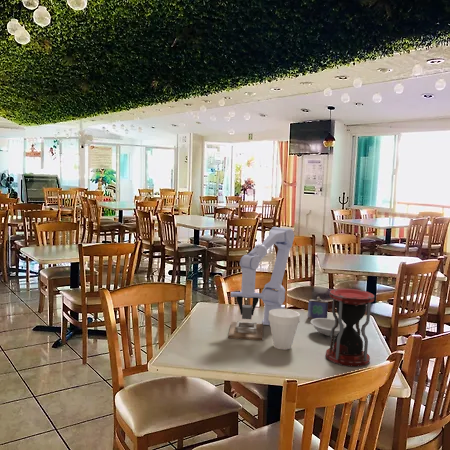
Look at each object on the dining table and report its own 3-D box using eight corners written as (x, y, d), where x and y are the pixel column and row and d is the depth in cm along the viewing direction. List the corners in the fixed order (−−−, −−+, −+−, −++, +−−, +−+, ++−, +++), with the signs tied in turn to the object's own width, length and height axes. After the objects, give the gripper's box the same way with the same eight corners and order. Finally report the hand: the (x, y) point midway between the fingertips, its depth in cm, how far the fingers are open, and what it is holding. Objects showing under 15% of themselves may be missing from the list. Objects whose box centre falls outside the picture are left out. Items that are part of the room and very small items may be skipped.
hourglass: (316, 357, 180) (321, 291, 178) (340, 347, 191) (344, 286, 189) (355, 370, 169) (360, 301, 166) (377, 359, 180) (382, 294, 178)
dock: (262, 326, 215) (263, 319, 215) (262, 340, 196) (262, 333, 196) (231, 324, 216) (231, 317, 216) (228, 338, 197) (228, 330, 197)
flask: (307, 318, 230) (308, 296, 229) (307, 316, 233) (309, 295, 232) (326, 320, 228) (328, 298, 227) (327, 319, 231) (328, 297, 230)
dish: (354, 340, 201) (355, 329, 200) (324, 343, 195) (325, 331, 195) (330, 327, 217) (331, 316, 217) (302, 330, 212) (303, 319, 211)
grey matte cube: (251, 316, 207) (252, 305, 207) (251, 319, 203) (251, 307, 203) (242, 316, 208) (242, 304, 207) (241, 318, 204) (242, 307, 203)
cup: (273, 353, 182) (275, 318, 181) (262, 342, 194) (264, 309, 193) (303, 351, 186) (305, 316, 184) (290, 340, 198) (292, 308, 196)
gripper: (230, 284, 201) (229, 315, 202) (265, 286, 199) (263, 318, 201) (231, 280, 208) (230, 311, 209) (265, 282, 206) (263, 313, 208)
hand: (246, 314), depth 205 cm, fingers closed on grey matte cube, 4 cm apart
